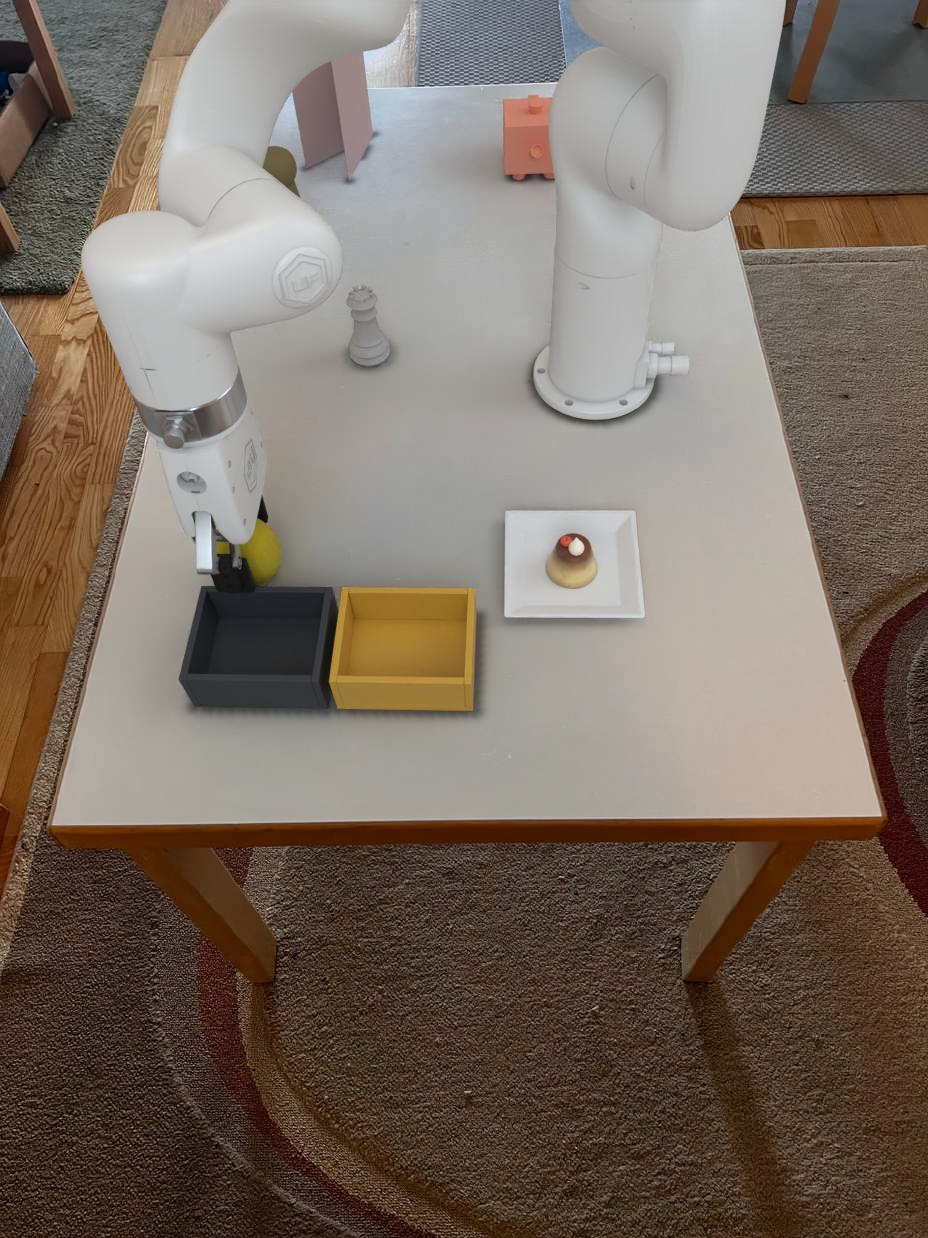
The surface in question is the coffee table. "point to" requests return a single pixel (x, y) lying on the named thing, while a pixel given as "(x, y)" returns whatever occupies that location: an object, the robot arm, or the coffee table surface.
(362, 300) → the rook chess piece
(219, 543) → the lemon
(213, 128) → the robot arm
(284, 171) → the pawn chess piece
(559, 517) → the dessert
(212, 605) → the charcoal bin
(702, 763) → the coffee table surface
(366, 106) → the greeting card
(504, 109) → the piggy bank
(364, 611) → the ochre bin
